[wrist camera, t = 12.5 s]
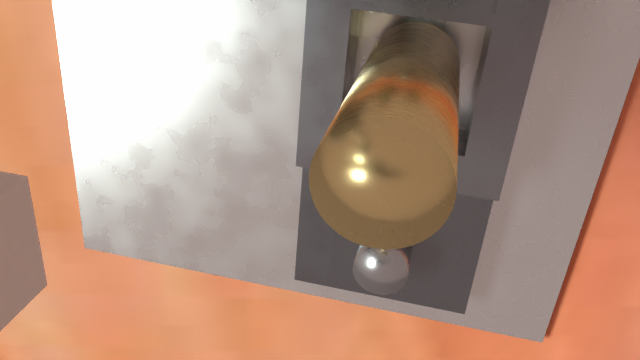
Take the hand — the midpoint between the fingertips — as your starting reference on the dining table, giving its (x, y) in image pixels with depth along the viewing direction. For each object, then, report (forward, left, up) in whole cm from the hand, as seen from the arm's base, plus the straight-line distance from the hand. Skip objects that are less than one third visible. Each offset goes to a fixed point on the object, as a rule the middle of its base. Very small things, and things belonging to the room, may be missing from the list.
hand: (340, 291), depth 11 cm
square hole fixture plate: (0, -4, -18) cm, 18 cm away
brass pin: (0, 0, -17) cm, 17 cm away
